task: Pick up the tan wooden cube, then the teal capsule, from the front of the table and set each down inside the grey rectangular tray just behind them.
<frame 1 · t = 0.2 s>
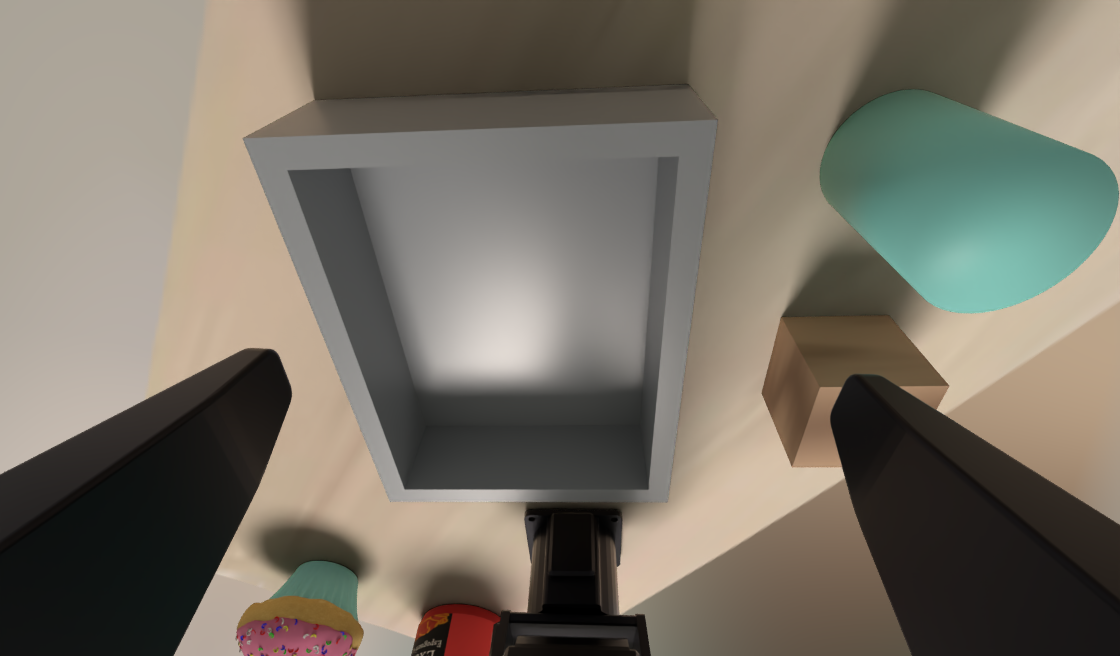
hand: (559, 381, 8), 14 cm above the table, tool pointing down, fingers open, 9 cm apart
cupcake: (327, 572, 41), on the table
teal capsule: (887, 158, 20), on the table
grey rectangular tray: (519, 296, 24), on the table
canned food: (465, 620, 45), on the table
tan wooden cube: (820, 355, 26), on the table
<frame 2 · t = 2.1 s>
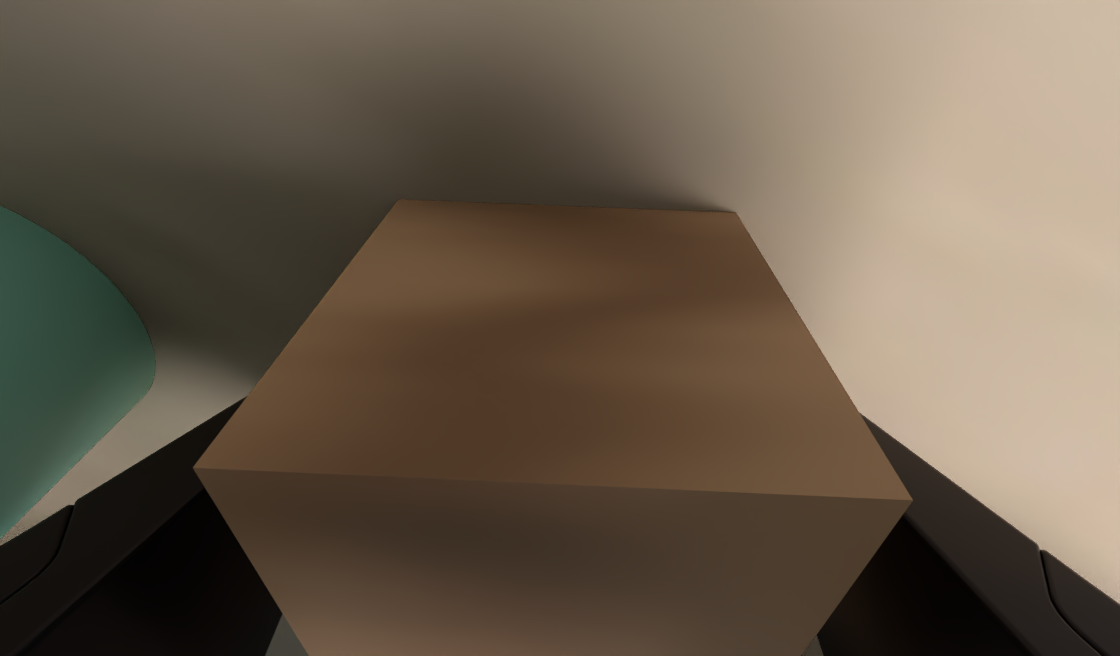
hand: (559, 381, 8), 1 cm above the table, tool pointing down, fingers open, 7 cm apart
teal capsule: (4, 316, 9), on the table
tan wooden cube: (561, 337, 9), on the table
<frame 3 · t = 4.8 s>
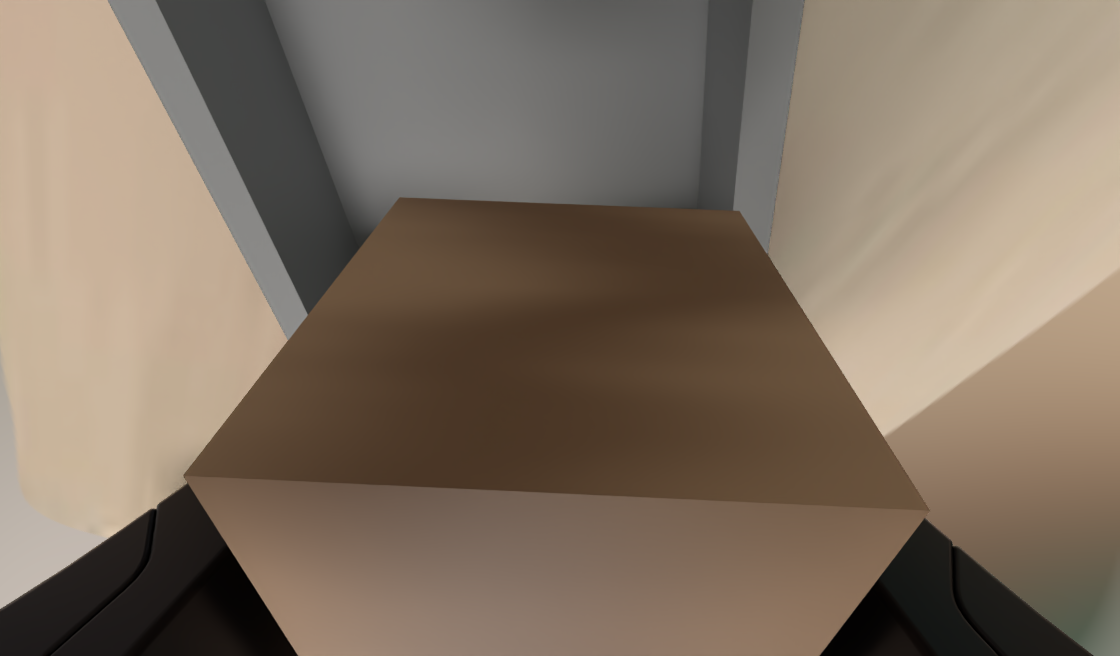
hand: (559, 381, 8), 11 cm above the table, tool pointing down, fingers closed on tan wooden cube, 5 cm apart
grey rectangular tray: (494, 34, 15), on the table
tan wooden cube: (563, 339, 9), point 10 cm above the table, touching gripper
when the fingers open (3 cm above the table, at t = 6.9 s): tan wooden cube drops 1 cm, resting on grey rectangular tray.
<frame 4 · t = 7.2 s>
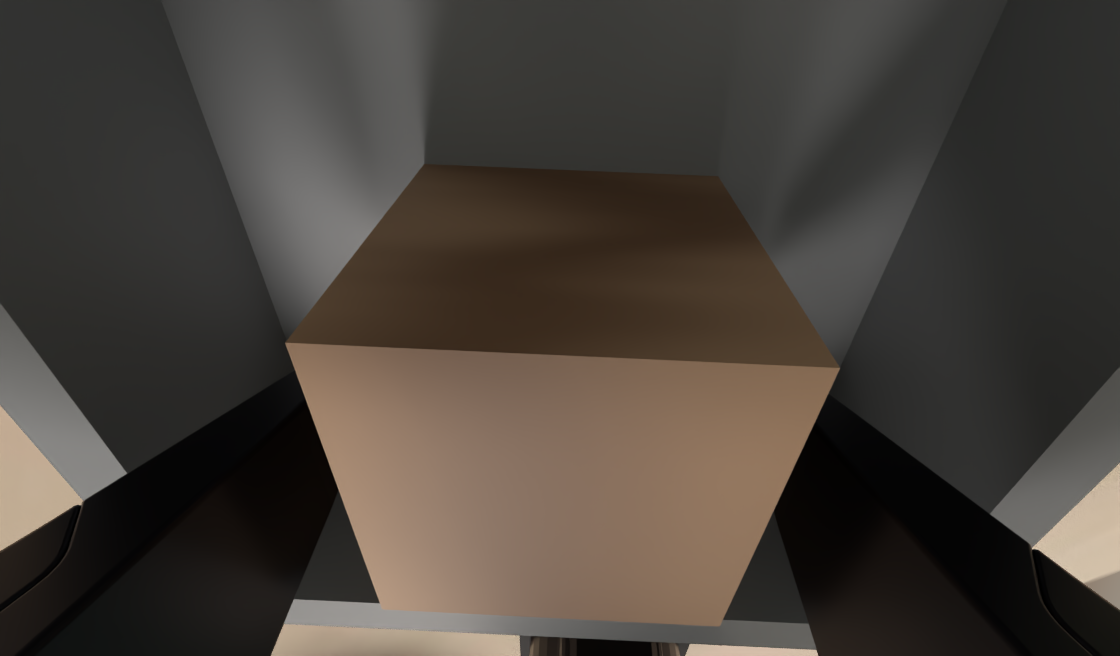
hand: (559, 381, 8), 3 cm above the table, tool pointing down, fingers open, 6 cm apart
grey rectangular tray: (572, 66, 8), on the table
tan wooden cube: (565, 294, 10), point 1 cm above the table, touching grey rectangular tray
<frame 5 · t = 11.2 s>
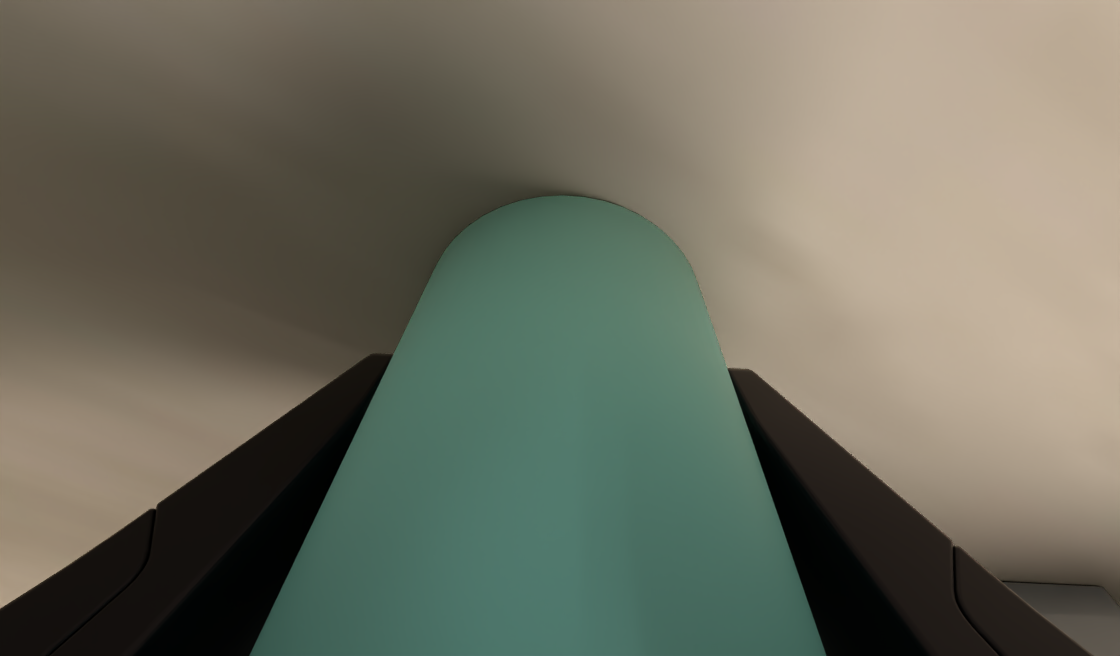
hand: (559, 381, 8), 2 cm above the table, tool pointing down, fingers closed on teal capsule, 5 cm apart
teal capsule: (563, 325, 9), on the table, touching gripper
when the fingers open (4 cm above the table, at t = 15.4 s): teal capsule drops 1 cm, resting on grey rectangular tray.
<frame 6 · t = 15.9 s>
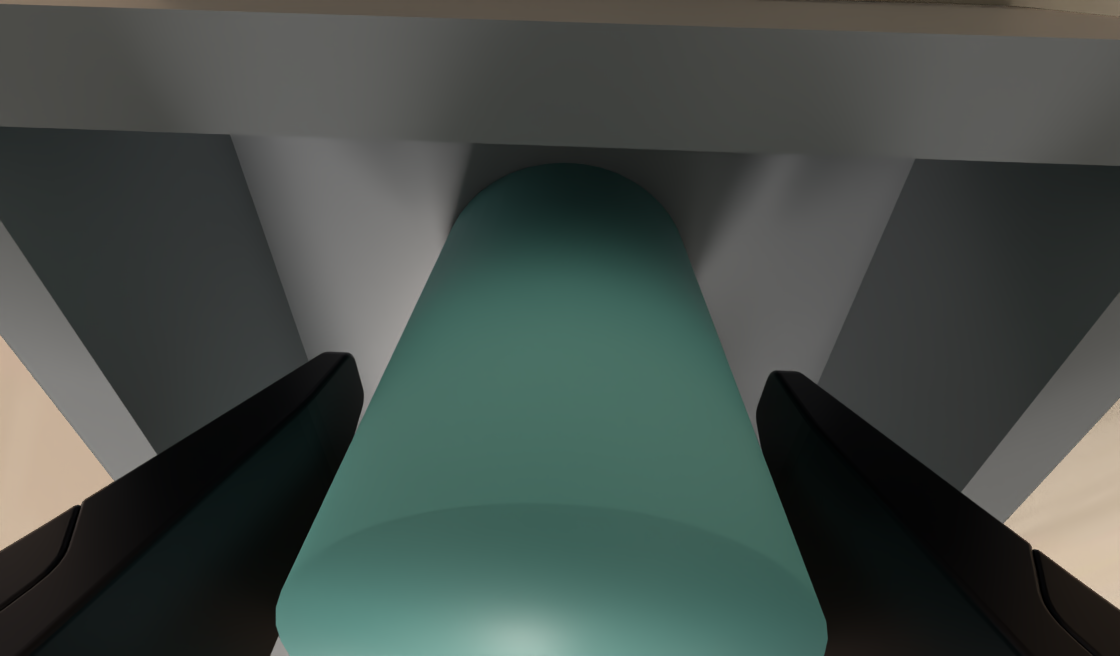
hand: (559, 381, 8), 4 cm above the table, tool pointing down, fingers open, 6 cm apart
teal capsule: (564, 283, 10), point 1 cm above the table, touching grey rectangular tray
grey rectangular tray: (561, 397, 13), on the table
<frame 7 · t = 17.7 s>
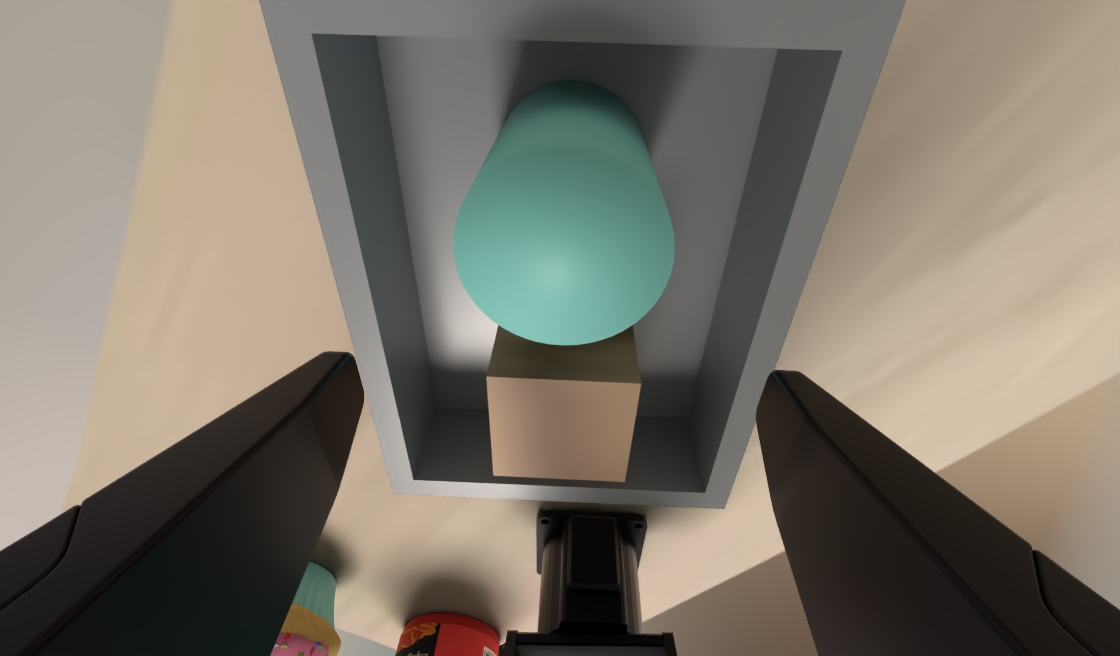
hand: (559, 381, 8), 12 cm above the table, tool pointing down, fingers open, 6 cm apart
cupcake: (301, 572, 36), on the table
teal capsule: (571, 161, 17), point 1 cm above the table, touching grey rectangular tray
grey rectangular tray: (567, 255, 20), on the table
canned food: (453, 631, 40), on the table
tan wooden cube: (564, 346, 22), point 1 cm above the table, touching grey rectangular tray
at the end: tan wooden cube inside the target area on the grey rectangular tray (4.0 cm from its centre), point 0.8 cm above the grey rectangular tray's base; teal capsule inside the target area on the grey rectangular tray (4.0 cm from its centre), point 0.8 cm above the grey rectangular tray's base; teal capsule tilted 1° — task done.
